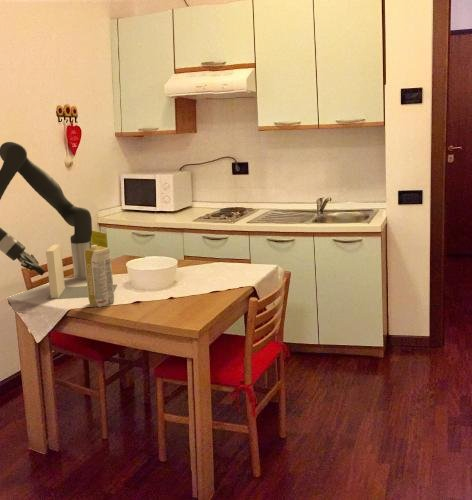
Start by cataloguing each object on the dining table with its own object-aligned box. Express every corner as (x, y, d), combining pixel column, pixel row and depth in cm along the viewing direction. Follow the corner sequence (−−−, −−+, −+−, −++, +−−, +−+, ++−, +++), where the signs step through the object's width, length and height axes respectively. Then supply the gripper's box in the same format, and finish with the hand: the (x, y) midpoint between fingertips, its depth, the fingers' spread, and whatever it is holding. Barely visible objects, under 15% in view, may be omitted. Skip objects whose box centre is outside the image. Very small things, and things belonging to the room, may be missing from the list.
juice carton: (104, 299, 264) (99, 242, 259) (117, 302, 259) (112, 244, 254) (86, 305, 257) (80, 246, 252) (99, 308, 252) (93, 248, 247)
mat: (46, 300, 266) (46, 299, 266) (55, 288, 284) (55, 287, 284) (111, 296, 267) (111, 295, 267) (117, 285, 285) (117, 284, 285)
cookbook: (50, 298, 268) (45, 251, 264) (58, 288, 282) (53, 244, 278) (58, 297, 268) (53, 251, 264) (65, 288, 282) (60, 243, 278)
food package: (111, 275, 304) (107, 233, 299) (108, 275, 303) (105, 234, 299) (95, 270, 315) (91, 230, 311) (92, 270, 314) (89, 230, 310)
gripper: (12, 243, 263) (45, 271, 266) (21, 237, 276) (52, 263, 279) (0, 257, 264) (34, 284, 267) (9, 250, 277) (41, 276, 280)
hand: (43, 273), depth 273 cm, fingers closed
